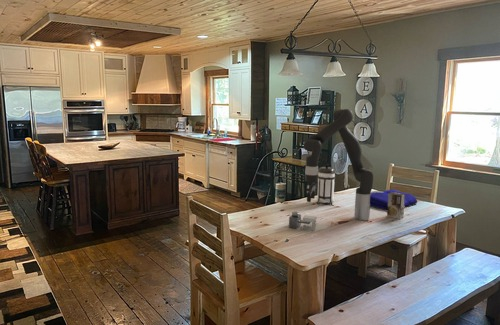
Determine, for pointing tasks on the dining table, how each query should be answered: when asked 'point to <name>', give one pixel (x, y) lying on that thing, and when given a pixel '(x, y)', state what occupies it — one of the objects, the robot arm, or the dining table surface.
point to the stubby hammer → (296, 221)
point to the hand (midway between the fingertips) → (310, 200)
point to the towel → (382, 199)
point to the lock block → (309, 226)
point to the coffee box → (396, 205)
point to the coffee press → (326, 185)
